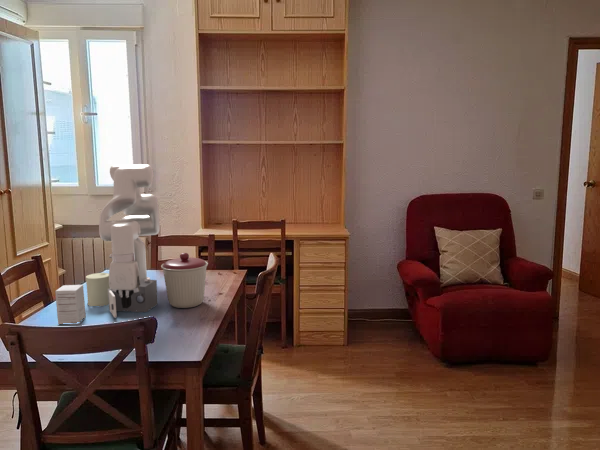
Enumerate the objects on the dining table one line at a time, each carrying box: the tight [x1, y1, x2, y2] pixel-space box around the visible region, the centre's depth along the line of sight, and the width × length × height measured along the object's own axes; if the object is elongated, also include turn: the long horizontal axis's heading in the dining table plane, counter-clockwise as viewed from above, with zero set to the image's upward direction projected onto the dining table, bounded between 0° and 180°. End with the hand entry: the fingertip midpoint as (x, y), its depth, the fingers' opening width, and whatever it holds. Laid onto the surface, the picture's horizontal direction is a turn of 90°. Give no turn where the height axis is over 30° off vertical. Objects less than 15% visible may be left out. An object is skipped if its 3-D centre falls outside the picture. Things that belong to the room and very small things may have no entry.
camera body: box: [111, 278, 159, 313], centre depth 187 cm, size 14×11×11 cm
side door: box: [108, 289, 118, 318], centre depth 179 cm, size 10×2×8 cm, turn 31°
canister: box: [160, 252, 209, 309], centre depth 190 cm, size 18×18×21 cm
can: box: [85, 272, 111, 307], centre depth 193 cm, size 9×9×12 cm
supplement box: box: [54, 284, 87, 324], centre depth 173 cm, size 7×7×13 cm
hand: (126, 306), depth 175 cm, fingers closed
